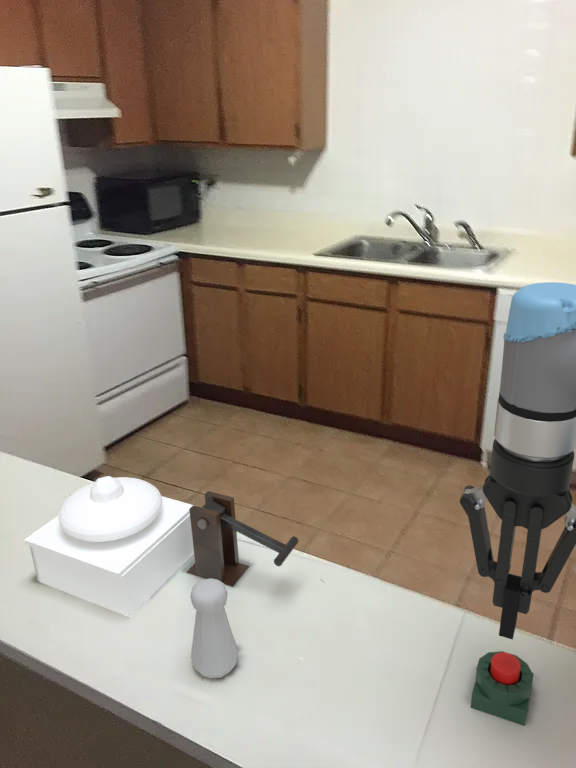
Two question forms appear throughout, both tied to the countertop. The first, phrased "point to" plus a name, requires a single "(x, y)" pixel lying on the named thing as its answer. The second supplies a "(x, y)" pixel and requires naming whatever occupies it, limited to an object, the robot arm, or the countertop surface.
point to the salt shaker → (212, 630)
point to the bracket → (215, 543)
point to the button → (505, 668)
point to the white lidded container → (113, 543)
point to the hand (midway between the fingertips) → (507, 629)
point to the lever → (254, 533)
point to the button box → (502, 692)
